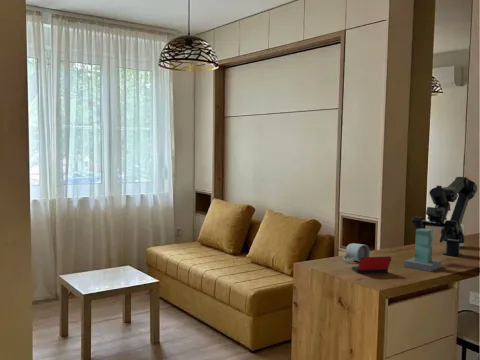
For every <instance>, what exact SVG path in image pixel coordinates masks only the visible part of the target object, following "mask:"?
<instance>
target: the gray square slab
mask: <svg viewBox="0 0 480 360" xmlns="http://www.w3.org/2000/svg"><path fill="white" fill-rule="evenodd" d="M403 267H404V268H409V269H414V270H420V271H425V272H434V271H436V270H437V269H440V268H442V260H437V259H432V261H431V262H428V263H424V262H418V261H415V256H414V257H411V258H408V259H405V260H404V261H403Z"/></svg>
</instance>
